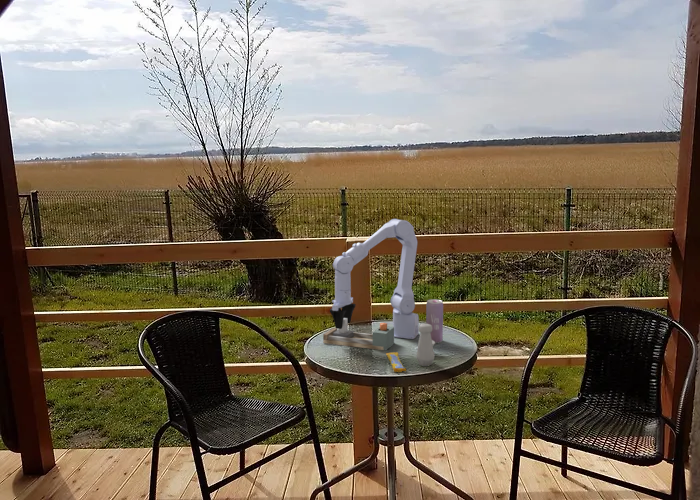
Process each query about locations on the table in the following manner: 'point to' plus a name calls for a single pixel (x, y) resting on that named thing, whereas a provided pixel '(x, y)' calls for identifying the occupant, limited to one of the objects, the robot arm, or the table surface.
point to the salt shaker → (425, 346)
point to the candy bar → (395, 362)
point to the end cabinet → (383, 338)
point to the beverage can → (435, 319)
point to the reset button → (383, 326)
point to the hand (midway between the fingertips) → (343, 325)
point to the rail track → (351, 340)
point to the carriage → (344, 330)
